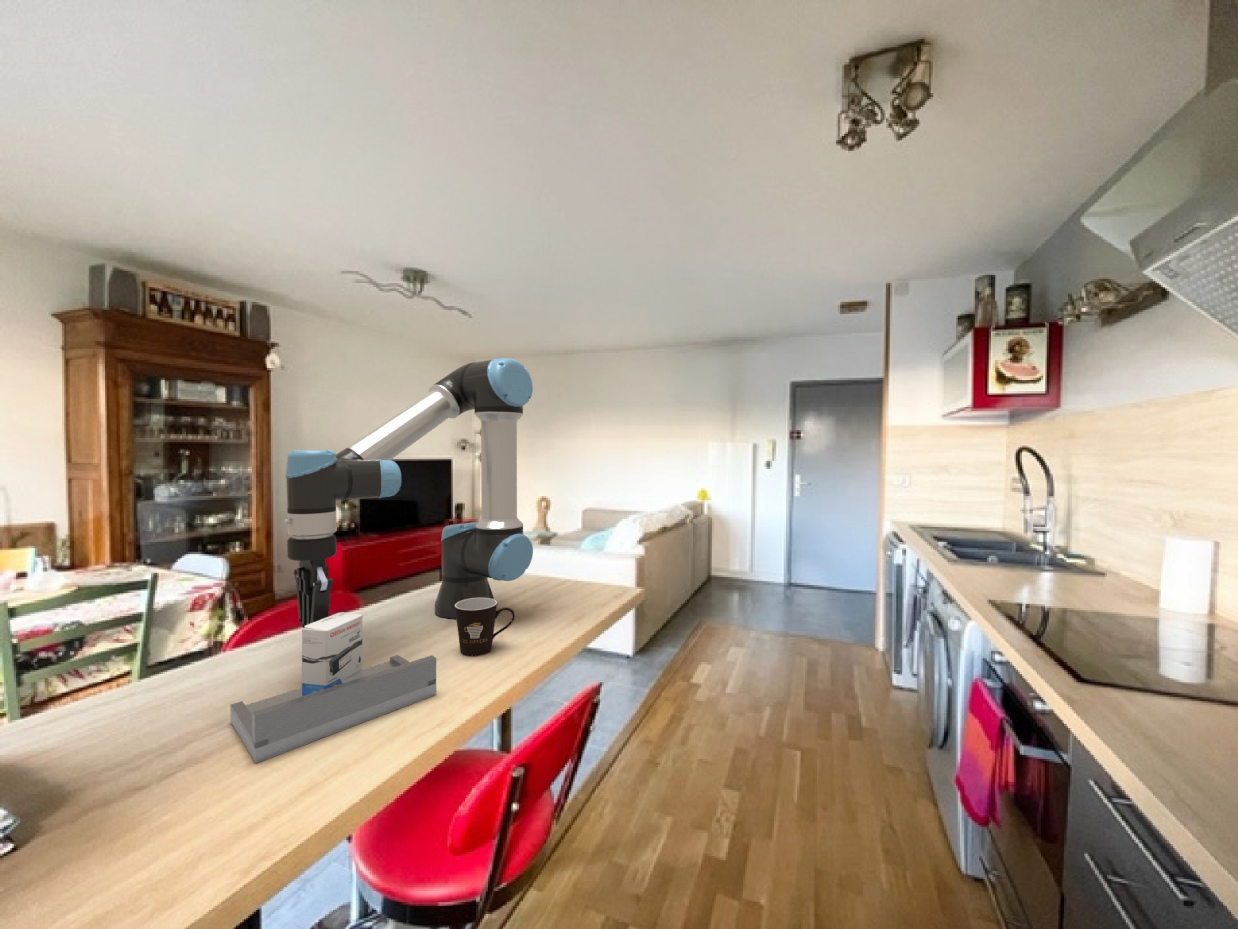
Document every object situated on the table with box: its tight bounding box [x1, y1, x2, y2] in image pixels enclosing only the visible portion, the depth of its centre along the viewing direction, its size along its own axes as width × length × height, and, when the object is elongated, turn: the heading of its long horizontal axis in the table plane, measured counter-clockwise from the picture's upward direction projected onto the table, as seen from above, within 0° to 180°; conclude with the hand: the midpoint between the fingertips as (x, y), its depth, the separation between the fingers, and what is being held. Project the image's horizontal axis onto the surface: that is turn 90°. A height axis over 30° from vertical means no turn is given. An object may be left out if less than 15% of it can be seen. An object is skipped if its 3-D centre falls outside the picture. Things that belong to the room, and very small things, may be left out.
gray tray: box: [229, 654, 437, 764], centre depth 82 cm, size 26×15×6 cm, turn 138°
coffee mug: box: [455, 598, 516, 657], centre depth 106 cm, size 12×9×10 cm
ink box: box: [301, 611, 364, 696], centre depth 84 cm, size 8×5×12 cm, turn 168°
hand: (313, 664), depth 90 cm, fingers closed
